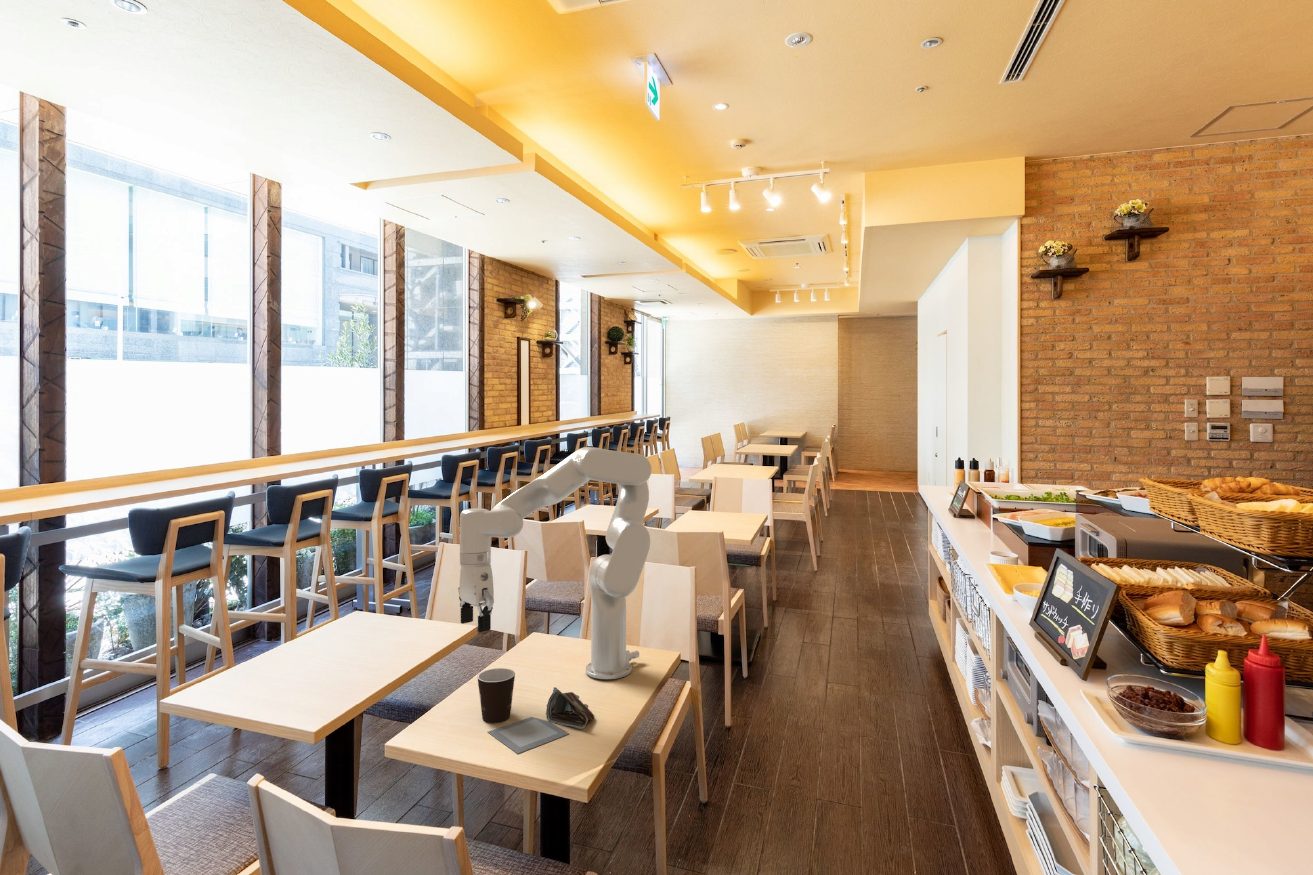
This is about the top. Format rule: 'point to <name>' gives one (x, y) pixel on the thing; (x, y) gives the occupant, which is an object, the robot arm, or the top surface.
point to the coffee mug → (496, 694)
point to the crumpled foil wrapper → (567, 702)
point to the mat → (527, 734)
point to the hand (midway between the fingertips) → (475, 626)
